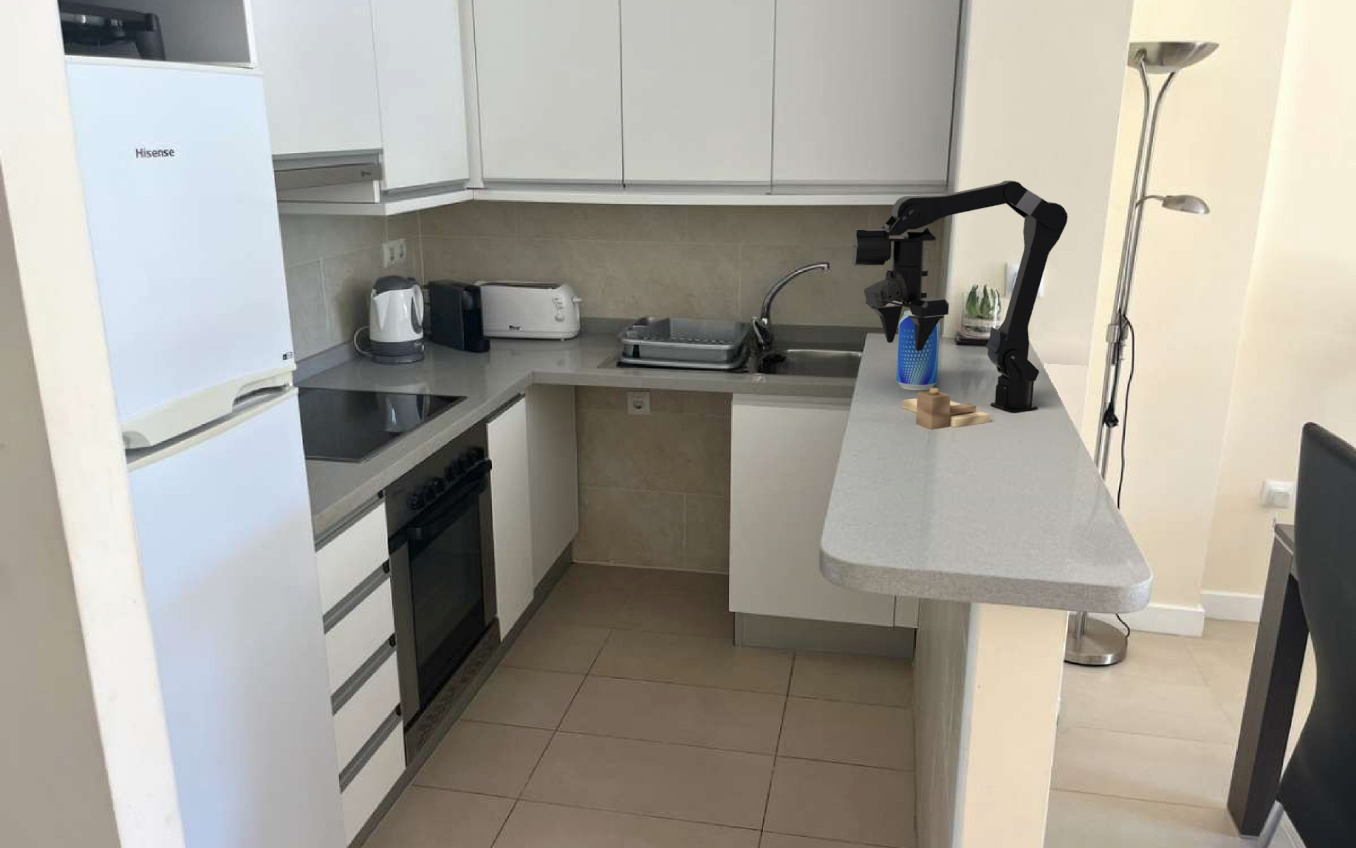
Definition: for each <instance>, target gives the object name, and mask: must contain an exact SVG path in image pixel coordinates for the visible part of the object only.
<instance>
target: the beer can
mask: <svg viewBox="0 0 1356 848" xmlns="http://www.w3.org/2000/svg"><path fill="white" fill-rule="evenodd" d="M909 316H914V315H912V313H911V311H910V309H909V310H905V311H903V315H902V316H901V319H899V322H898V337H897V340H898V341H897V361H896V363H897V364H896V382H897V384H899V387H900V388H901V389H905V390H907V391H930V388H934V386H935V384H937V383H938V372H939V369H938V367H939V356H940V355H939V352H940V337H941V336H940V335H941V334H940V333H941V332H940V329H941V322H940V321H939V322H938V323H937V325H936V326H935V328H934V329H933V331H932V333H931V334H930V336H929V338H928V340H927V342H926V344H925V345H924V347H923V349H922V350H921V351H916V346H915V324H914V322H913V321H912V320H911V318H910V317H909Z"/></svg>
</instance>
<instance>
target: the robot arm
mask: <svg viewBox="0 0 1356 848" xmlns="http://www.w3.org/2000/svg"><path fill="white" fill-rule="evenodd" d="M1005 204H1006V205H1007V206H1008V207H1009V208H1010V209H1011V210H1013V211H1014V212H1015V213H1016V214H1018V215H1020V216H1021V217H1022V218H1024V221H1023V231H1022V232H1023V234H1022V235H1023V245H1024V247H1023V252H1022V255H1021V259H1020V263H1019V267H1018V270H1017V273H1016V277H1015V281H1014V285H1013V289H1012V291H1011V295H1010V299H1009V302H1008V306H1007V309H1006V314H1005V317H1004V320H1003V322H1002V323H1001V325H1000V326H999V327H998V328H995V327H991V328H990V331H989V339H988V342H987V343H986V344H985V346H984V347H985V348H986V349H987V356H988V359H989V361H990V362H991V363H992V364H994V365H995V367H996V369H997V370H996V371H997V372H998V373H1000V374H1001V375H999V376H997V384H996V385H995V393H994V394H995V395H994V397H995V398H994V401H993V402H990V406H991V407H994V408H997V409H1001V410H1003V411H1007V412H1009V413H1017V412H1025V411H1031V410H1038V408H1039V406H1038V405H1035V404H1033V399H1034V398H1033V397H1034V384H1035V382H1036V380H1037V378H1038V376H1039V374H1040V371H1039V369H1038V368H1037V367H1036V366H1035V364H1033V363H1032V362H1031V361H1030V360H1029V350H1030V335H1029V326H1030V321H1031V317H1032V316H1033V315H1032V314H1033V310H1034V308H1035V304H1036V300H1037V297H1038V293H1039V289H1040V286H1041V282H1042V279H1043V275H1044V271H1045V268H1046V265H1047V261H1048V258H1049V254H1050V253H1051V251H1052V249H1054V247H1055V246H1056V244H1057V243H1058V242H1059V240H1060V239H1061V236H1062V235H1063V232H1064V230H1065V227H1066V226H1067V223H1068V217H1069V216H1068V212H1067V210H1066V209H1065V207H1063V206H1062V205H1061V204H1059V203H1056V202H1051V201H1047V200H1046V199H1044V198H1042V197H1041V196H1039V195H1037V194H1036V193H1033V192H1032V191H1031V190H1029V189H1027V188H1026V187H1024V186H1023V185H1022V184H1021V182H1020V181H1016V180H1003V181H1002V182H999V183H995V184H989V185H986V186H985V185H984V186H980V187H975V188H970V189H967V190H961V191H956V192H950V193H947V194H942V195H905V196H902V197H899V198H898V199H896V201H895V203H894V204H893V206H892V209H891V215H890V216H889V218H888V219H887V220H886V221H885V223H883V226H882V227H881V228H880V229H865V228H856V229H854V237H853V241H852V245H851V261H852V265H853V267H857V266H859V267H861V266H863V267H865V266H866V267H867V266H868V267H869V266H870V267H871V266H873V267H875V266H885V264H886V262H889V260H891V257H892V262H891V269H887V270H886V272H885V279H882V280H880V281H877V282H874V283H873V284H871V285H869V286H868V287H865V288H864V289H863V294H864V296H865V297H864V298H865V304H866V305H867V306H869V307H870V309H871V310H873V311H874V312H875V313H876V314H878V316H879V319H880V322H881V324H882V325H881V326H882V327H883V332H884V336H885V339H886V341H887V343H890V344H891V343H893V342H894V340H895V336H896V333H897V330H898V327H899V322H900V317H901V314H902V311H903V307H905V308H909V310H910V311H911V313H912V315H914V316H909V317H910V318H911V320H912V321H913V322H914V324H915V346H916V351H921V350H922V349H923V347H924V345H925V344H926V342H927V340H928V338H929V336H930V334H931V333H932V331H933V329H934V328H935V326H936V325H937V323H938V322H940V320H941V319H944V317H945V316H946V315H947V316H948V315H949V313H950V311H949V310H950V303H949V302H948V301H947V300H946V299H945V298H940V297H936V296H934V297H933V296H931V297H927V296H928V293H927V292H926V291H923V281H924V279H923V278H924V277H928V276H929V275H928V274H929V271H928V270H926V269H924V260H925V242H928V241H929V242H933V241H936V240H937V238H936V236H935V235H934V234H932V233H931V231H930V230H929V228H928V227H926V226H928V225H931V224H934V223H935V222H937V221H939V220H941V219H943V218H946V217H948V216H953V215H958V214H961V213H967V212H972V211H978V210H981V209H986V208H992V207H994V206H1001V205H1005ZM920 228H921V230H918V231H909V230H917V229H920ZM902 234H903V236H901V235H902ZM891 236H892V237H891Z"/></svg>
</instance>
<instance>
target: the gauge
mask: <svg viewBox="0 0 1356 848" xmlns="http://www.w3.org/2000/svg"><path fill="white" fill-rule="evenodd" d="M916 397H917V413H916V419H915V425H918V426H920V427H923V428H926V429H927V430H930V431H931V430H932V431H933V430H938V429H944V428H949V427H950V425H949V415H954V414H960V413H967V412H973V411H976V409H977V405H974V404H972V403H969V402H968V403H959V404H960V405H953V406H950V401H951V395H950V394H948V393H944V392H941V391H939V388H938V387H933V388H930V389H929V390H926V391H920V392H917V396H916Z"/></svg>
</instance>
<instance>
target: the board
mask: <svg viewBox="0 0 1356 848" xmlns="http://www.w3.org/2000/svg"><path fill="white" fill-rule="evenodd" d="M960 404H961V403H958V402H956V401H952V400H950V406H953V405H960ZM902 409H905V410H908V411H910V412H913V413H917V398H909V399H902ZM990 422H991V413H988V412H986V411H985V412H984V411H982V410H979V409H977V408H976V411H973V412H967V413H960V414H954V415H949V427H953V428H960V427H967V426H973V425H979V424H985V423H986V424H987V423H990Z"/></svg>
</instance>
